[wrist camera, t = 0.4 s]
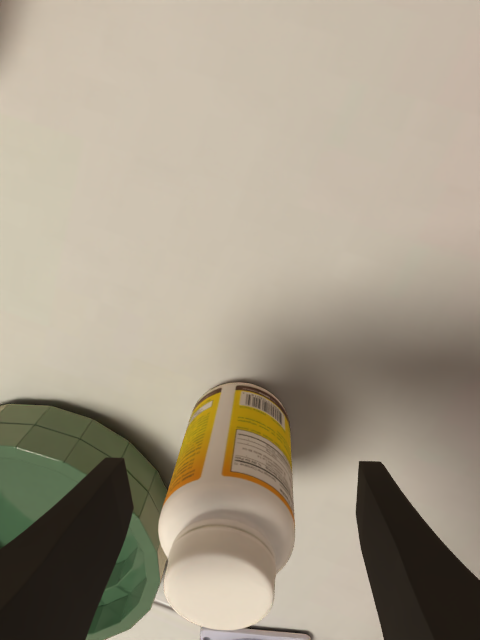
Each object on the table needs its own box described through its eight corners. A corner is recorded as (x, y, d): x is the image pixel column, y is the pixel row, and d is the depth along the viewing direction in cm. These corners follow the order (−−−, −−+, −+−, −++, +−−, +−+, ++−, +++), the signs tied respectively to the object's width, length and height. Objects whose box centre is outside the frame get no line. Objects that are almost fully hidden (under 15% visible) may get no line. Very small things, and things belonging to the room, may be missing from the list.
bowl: (182, 590, 31) (168, 656, 27) (-26, 573, 32) (-69, 633, 28) (167, 404, 24) (146, 454, 21) (-89, 392, 26) (-155, 436, 22)
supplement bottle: (199, 460, 26) (154, 644, 16) (185, 379, 24) (124, 537, 14) (293, 457, 25) (301, 648, 16) (287, 374, 23) (292, 537, 14)
